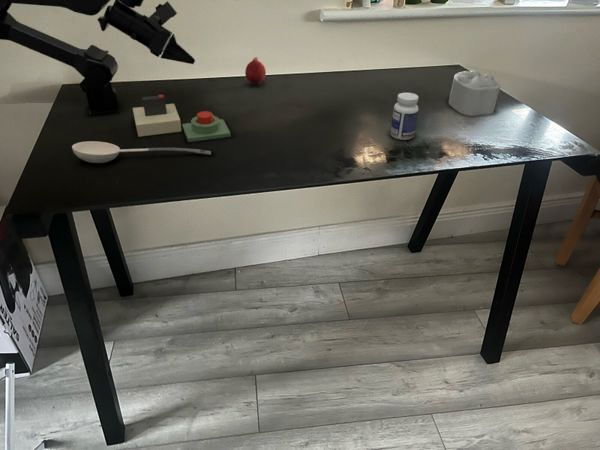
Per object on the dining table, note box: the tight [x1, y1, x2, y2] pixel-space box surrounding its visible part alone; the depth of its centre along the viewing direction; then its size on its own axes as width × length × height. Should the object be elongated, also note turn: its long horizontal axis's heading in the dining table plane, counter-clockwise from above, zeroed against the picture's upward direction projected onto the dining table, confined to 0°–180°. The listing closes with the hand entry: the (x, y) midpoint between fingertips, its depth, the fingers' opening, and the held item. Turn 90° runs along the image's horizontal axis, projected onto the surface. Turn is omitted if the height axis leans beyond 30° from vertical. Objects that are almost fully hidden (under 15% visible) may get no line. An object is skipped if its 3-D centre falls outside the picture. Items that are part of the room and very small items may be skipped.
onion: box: [244, 56, 267, 86], centre depth 139 cm, size 6×6×8 cm
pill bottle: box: [389, 92, 419, 141], centre depth 115 cm, size 6×6×10 cm
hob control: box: [132, 103, 183, 138], centre depth 118 cm, size 10×10×3 cm
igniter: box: [181, 114, 232, 143], centre depth 116 cm, size 10×8×3 cm
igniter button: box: [196, 110, 214, 125], centre depth 114 cm, size 4×4×2 cm
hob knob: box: [141, 94, 167, 116], centre depth 116 cm, size 5×2×4 cm, turn 110°
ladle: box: [71, 140, 212, 164], centre depth 105 cm, size 6×28×5 cm, turn 101°
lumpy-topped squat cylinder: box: [448, 69, 501, 117], centre depth 132 cm, size 10×13×9 cm
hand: (193, 61), depth 119 cm, fingers open, 9 cm apart
